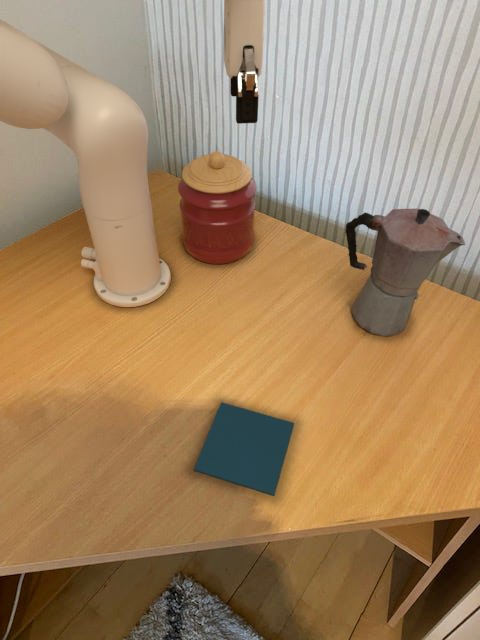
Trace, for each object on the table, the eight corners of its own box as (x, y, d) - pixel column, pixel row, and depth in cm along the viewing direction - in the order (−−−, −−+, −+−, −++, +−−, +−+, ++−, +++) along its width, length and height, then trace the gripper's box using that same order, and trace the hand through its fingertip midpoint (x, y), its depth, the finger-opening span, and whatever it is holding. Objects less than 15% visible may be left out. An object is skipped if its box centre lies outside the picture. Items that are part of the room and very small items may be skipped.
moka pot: (429, 347, 71) (481, 240, 56) (325, 331, 73) (349, 222, 58) (425, 303, 77) (471, 196, 63) (330, 289, 79) (353, 182, 64)
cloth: (193, 470, 57) (193, 469, 57) (221, 403, 64) (221, 402, 63) (274, 496, 55) (274, 494, 55) (294, 424, 62) (294, 422, 61)
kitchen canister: (257, 264, 83) (262, 173, 70) (183, 267, 82) (174, 175, 69) (249, 220, 92) (253, 132, 79) (182, 223, 91) (175, 134, 78)
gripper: (213, -39, 67) (216, 87, 80) (221, -6, 56) (223, 135, 68) (265, -39, 68) (260, 85, 80) (284, -7, 56) (275, 133, 69)
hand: (243, 108), depth 74 cm, fingers open, 9 cm apart
